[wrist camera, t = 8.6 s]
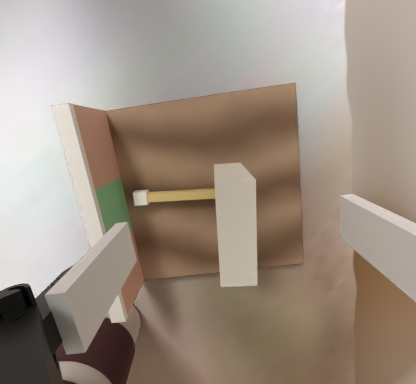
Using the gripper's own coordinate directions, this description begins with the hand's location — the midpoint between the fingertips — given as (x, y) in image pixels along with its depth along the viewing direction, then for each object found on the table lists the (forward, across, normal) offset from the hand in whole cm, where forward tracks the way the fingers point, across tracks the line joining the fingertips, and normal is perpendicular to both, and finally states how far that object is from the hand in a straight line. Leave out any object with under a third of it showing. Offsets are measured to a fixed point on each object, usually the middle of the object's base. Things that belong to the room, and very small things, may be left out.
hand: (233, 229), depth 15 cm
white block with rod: (+12, -4, 0) cm, 12 cm away
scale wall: (+12, -12, -1) cm, 17 cm away
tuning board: (+13, -2, -1) cm, 13 cm away
